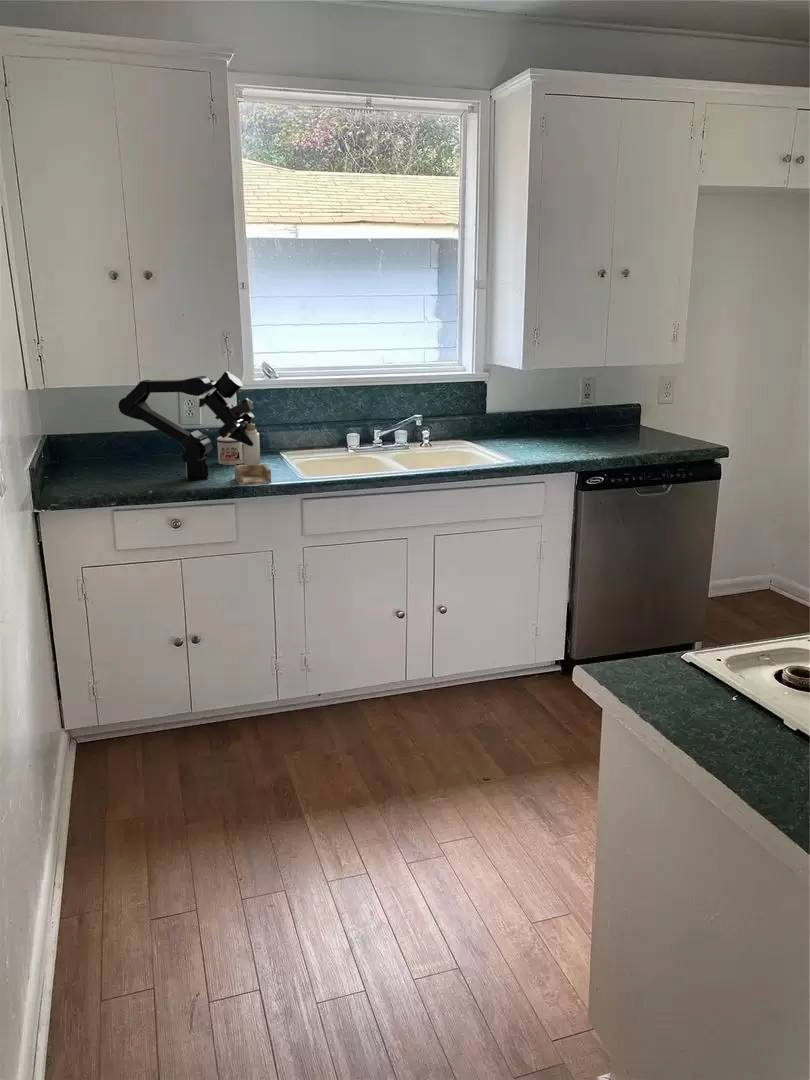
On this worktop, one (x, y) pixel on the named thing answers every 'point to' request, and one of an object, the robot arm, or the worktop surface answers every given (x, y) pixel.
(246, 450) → the stoneware bottle
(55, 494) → the worktop surface
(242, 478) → the maple U-rest
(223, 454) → the teacup with lid
